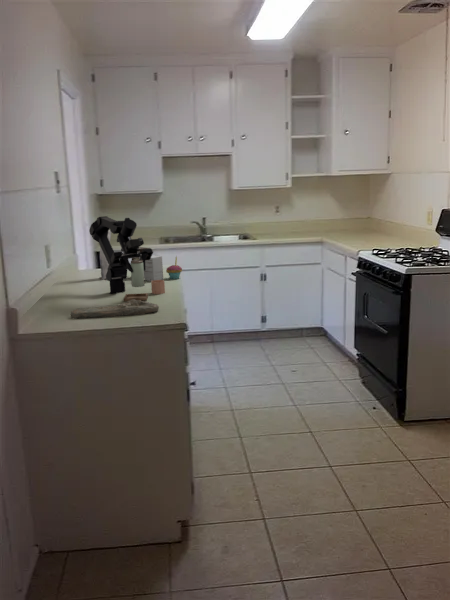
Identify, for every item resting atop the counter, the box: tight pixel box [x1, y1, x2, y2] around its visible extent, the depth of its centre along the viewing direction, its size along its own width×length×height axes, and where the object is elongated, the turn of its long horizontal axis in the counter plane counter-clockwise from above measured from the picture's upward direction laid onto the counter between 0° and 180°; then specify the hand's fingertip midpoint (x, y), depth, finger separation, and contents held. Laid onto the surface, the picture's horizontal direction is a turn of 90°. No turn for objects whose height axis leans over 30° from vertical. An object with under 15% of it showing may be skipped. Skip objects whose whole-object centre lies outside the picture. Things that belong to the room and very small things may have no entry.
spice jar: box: [129, 259, 145, 288], centre depth 252 cm, size 6×6×11 cm
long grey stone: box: [70, 299, 160, 320], centre depth 230 cm, size 35×5×10 cm
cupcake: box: [166, 255, 183, 280], centre depth 305 cm, size 9×8×12 cm
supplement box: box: [144, 254, 164, 282], centre depth 303 cm, size 7×7×13 cm
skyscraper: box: [98, 229, 112, 281], centre depth 311 cm, size 8×8×28 cm
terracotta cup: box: [150, 279, 166, 295], centre depth 267 cm, size 6×6×6 cm
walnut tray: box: [123, 292, 149, 303], centre depth 255 cm, size 10×10×2 cm
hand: (138, 271), depth 251 cm, fingers closed on spice jar, 6 cm apart
